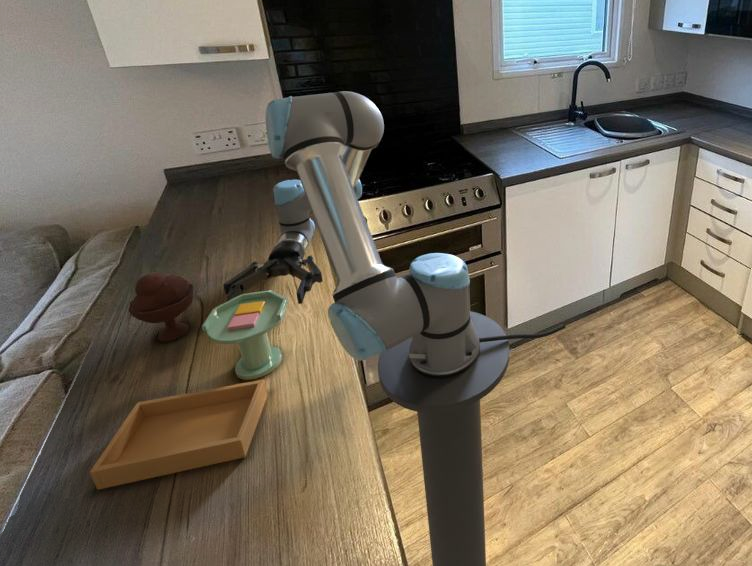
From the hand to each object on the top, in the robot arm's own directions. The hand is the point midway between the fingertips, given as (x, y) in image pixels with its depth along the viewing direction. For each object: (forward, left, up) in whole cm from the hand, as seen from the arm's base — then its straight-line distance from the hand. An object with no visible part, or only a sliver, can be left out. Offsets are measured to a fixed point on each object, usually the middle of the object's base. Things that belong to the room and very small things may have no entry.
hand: (264, 303), depth 94 cm
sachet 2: (0, +11, +4) cm, 11 cm away
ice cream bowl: (+21, -6, -8) cm, 23 cm away
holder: (+6, +24, -8) cm, 26 cm away
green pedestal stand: (0, +9, -8) cm, 12 cm away
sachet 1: (0, +7, +4) cm, 8 cm away
